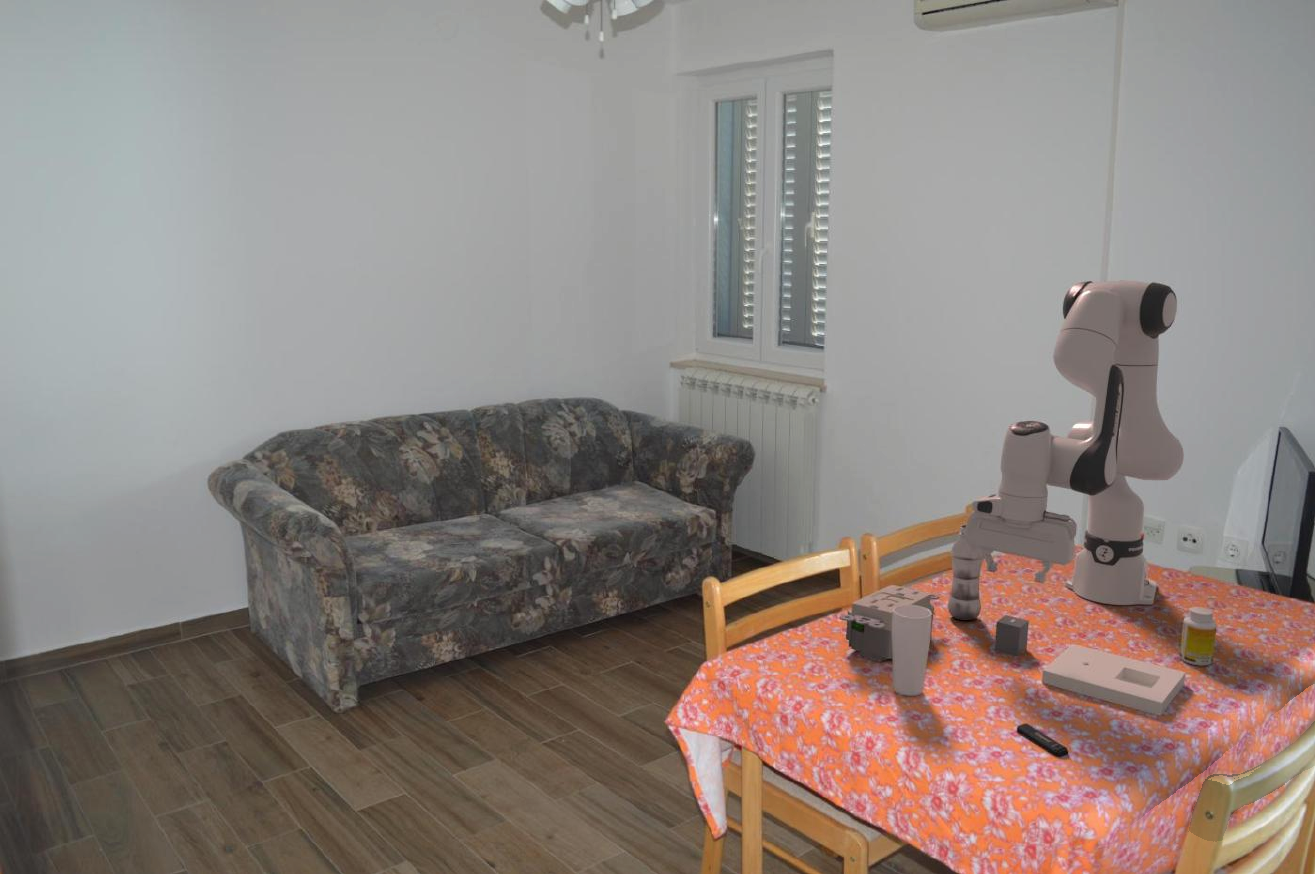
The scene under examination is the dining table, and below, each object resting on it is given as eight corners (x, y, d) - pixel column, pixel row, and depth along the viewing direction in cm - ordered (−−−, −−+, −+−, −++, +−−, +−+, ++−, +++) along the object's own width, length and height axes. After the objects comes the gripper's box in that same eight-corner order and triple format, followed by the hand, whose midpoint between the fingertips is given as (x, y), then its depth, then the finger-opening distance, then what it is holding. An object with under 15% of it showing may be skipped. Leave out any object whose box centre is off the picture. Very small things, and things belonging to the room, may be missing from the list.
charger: (1003, 643, 202) (1005, 614, 201) (1026, 649, 200) (1028, 620, 198) (994, 650, 199) (996, 621, 198) (1017, 656, 196) (1020, 627, 195)
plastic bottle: (983, 623, 212) (990, 531, 208) (951, 623, 212) (957, 531, 208) (975, 612, 219) (981, 523, 215) (943, 612, 219) (949, 522, 215)
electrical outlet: (827, 657, 194) (831, 607, 192) (892, 623, 216) (895, 577, 214) (884, 674, 186) (888, 621, 185) (945, 636, 209) (949, 589, 207)
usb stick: (1014, 732, 167) (1015, 723, 167) (1026, 729, 168) (1027, 721, 168) (1056, 759, 158) (1057, 750, 158) (1069, 756, 159) (1070, 747, 159)
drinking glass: (920, 702, 176) (925, 621, 174) (882, 693, 180) (887, 613, 177) (932, 688, 182) (937, 608, 179) (895, 679, 186) (899, 601, 183)
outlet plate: (1071, 655, 197) (1072, 643, 196) (1184, 684, 184) (1185, 671, 184) (1041, 682, 185) (1042, 669, 184) (1160, 715, 172) (1161, 702, 172)
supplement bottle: (1218, 666, 192) (1224, 615, 190) (1189, 667, 192) (1195, 615, 190) (1201, 654, 197) (1207, 604, 195) (1173, 655, 197) (1179, 605, 195)
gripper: (1083, 513, 189) (1076, 584, 192) (977, 495, 202) (972, 561, 205) (1072, 520, 185) (1064, 593, 187) (964, 500, 197) (958, 569, 200)
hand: (1015, 576), depth 196 cm, fingers open, 8 cm apart
